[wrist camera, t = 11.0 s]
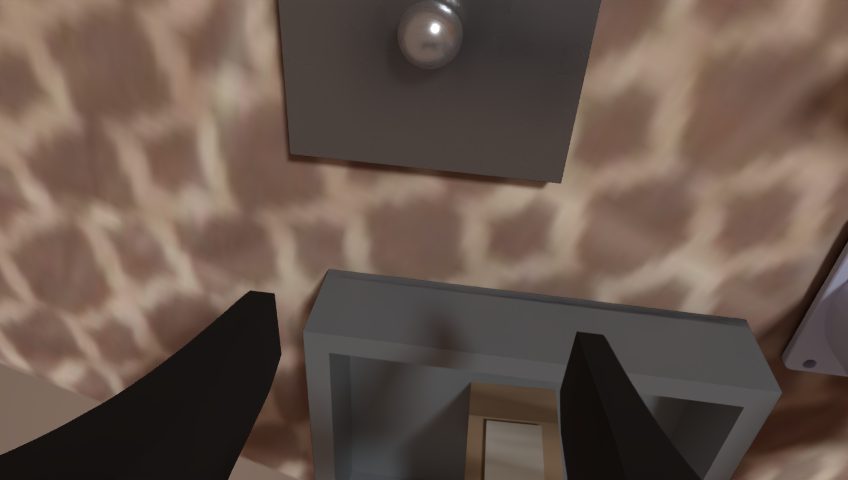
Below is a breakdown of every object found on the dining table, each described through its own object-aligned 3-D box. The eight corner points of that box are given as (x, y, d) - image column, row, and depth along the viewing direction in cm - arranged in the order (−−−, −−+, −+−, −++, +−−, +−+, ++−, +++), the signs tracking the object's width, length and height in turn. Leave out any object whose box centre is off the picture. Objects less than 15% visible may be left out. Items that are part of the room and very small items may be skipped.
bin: (745, 319, 25) (782, 392, 21) (647, 515, 33) (663, 589, 30) (328, 269, 26) (303, 331, 23) (337, 471, 34) (319, 537, 31)
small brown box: (544, 442, 30) (553, 585, 24) (467, 434, 30) (457, 573, 25) (556, 385, 27) (569, 528, 22) (471, 377, 28) (462, 516, 22)
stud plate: (627, -150, 16) (647, -149, 14) (558, 170, 22) (565, 209, 20) (276, -176, 17) (239, -178, 14) (298, 142, 22) (274, 176, 20)
